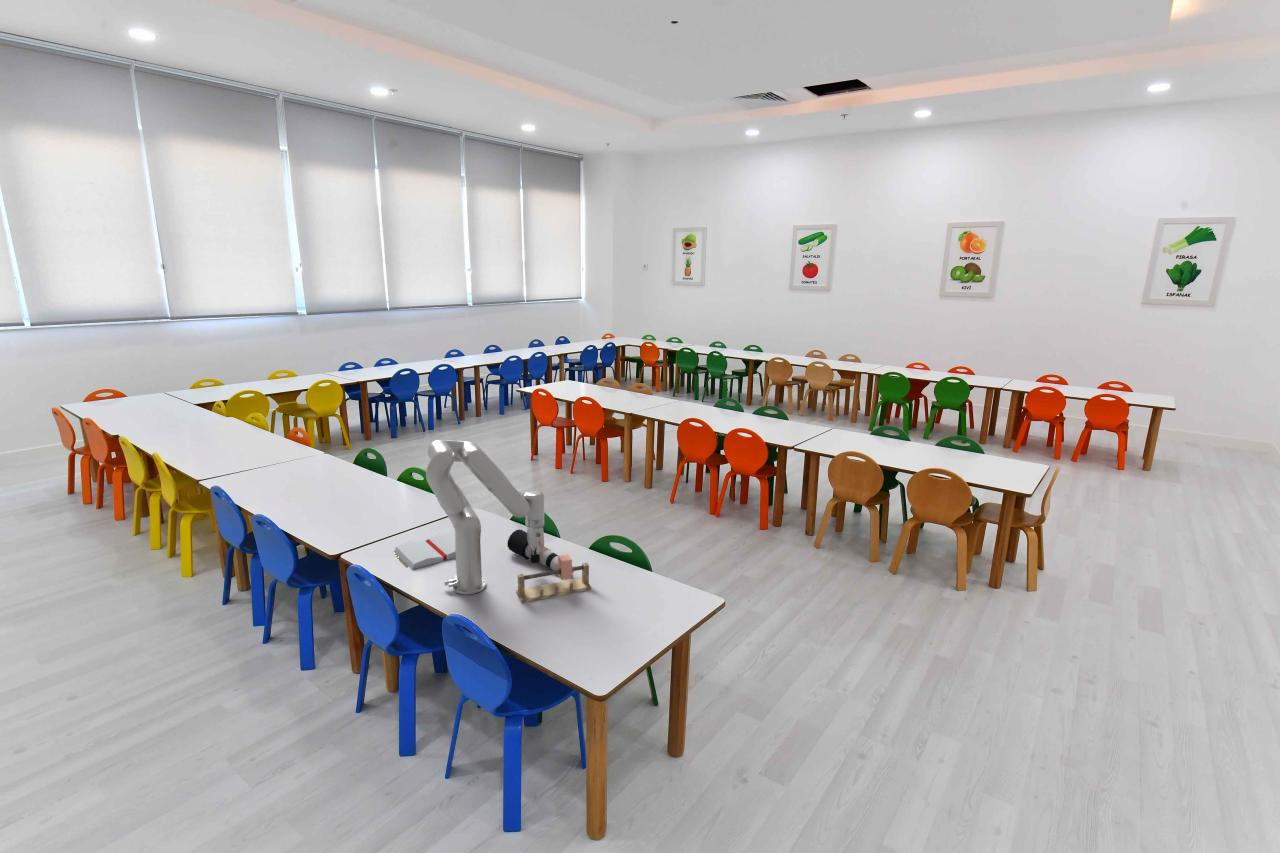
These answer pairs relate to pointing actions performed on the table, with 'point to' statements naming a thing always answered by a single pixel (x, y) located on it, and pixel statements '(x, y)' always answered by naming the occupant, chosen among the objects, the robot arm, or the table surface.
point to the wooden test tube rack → (553, 585)
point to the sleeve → (565, 566)
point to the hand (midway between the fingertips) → (535, 562)
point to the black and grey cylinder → (522, 548)
